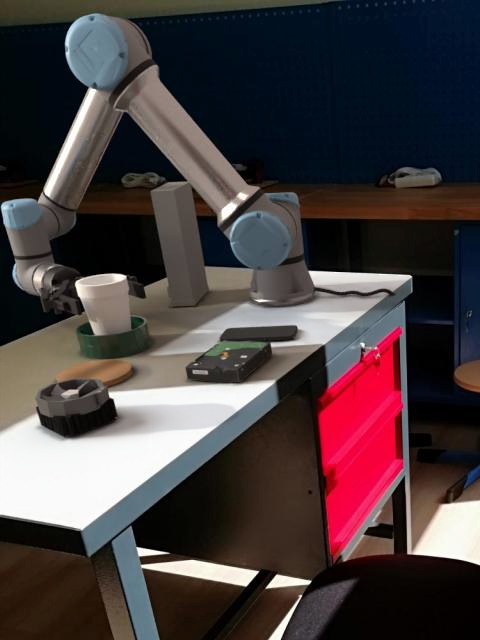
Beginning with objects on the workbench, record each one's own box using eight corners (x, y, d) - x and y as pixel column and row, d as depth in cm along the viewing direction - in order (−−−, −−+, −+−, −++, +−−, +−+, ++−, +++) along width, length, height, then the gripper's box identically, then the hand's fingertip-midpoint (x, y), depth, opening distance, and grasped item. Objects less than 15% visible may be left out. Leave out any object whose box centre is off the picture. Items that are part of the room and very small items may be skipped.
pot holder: (145, 365, 141) (144, 360, 141) (108, 391, 130) (106, 386, 130) (83, 363, 144) (82, 358, 144) (42, 388, 133) (40, 383, 133)
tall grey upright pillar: (184, 292, 187) (164, 182, 174) (209, 291, 187) (190, 181, 174) (169, 307, 175) (146, 191, 162) (195, 306, 175) (174, 190, 162)
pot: (163, 337, 156) (158, 315, 153) (129, 359, 145) (124, 336, 142) (105, 335, 159) (99, 314, 156) (68, 357, 148) (62, 334, 145)
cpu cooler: (23, 391, 116) (83, 371, 123) (33, 425, 119) (92, 404, 126) (56, 406, 110) (117, 385, 117) (66, 441, 113) (126, 419, 120)
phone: (226, 327, 156) (298, 324, 155) (227, 331, 157) (298, 328, 156) (218, 339, 150) (292, 336, 149) (218, 343, 150) (293, 340, 149)
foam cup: (126, 354, 147) (110, 286, 140) (83, 353, 148) (65, 286, 142) (148, 338, 155) (134, 273, 148) (107, 337, 156) (92, 273, 150)
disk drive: (241, 385, 131) (273, 355, 143) (238, 369, 129) (271, 340, 141) (186, 382, 133) (222, 352, 145) (183, 366, 132) (220, 338, 144)
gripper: (118, 289, 167) (171, 303, 154) (6, 316, 152) (55, 335, 139) (110, 254, 164) (164, 266, 151) (-5, 278, 148) (43, 294, 135)
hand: (112, 299), depth 145 cm, fingers open, 13 cm apart
